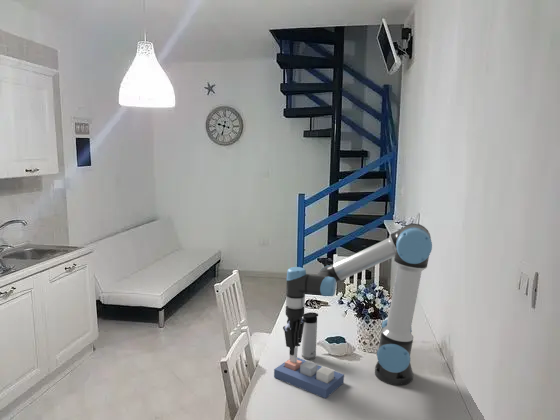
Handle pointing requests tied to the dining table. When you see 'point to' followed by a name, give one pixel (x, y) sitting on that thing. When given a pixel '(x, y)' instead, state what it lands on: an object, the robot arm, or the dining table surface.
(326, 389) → the board
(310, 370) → the key grey
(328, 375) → the key ivory
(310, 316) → the travel mug
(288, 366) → the key coral
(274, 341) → the dining table surface
